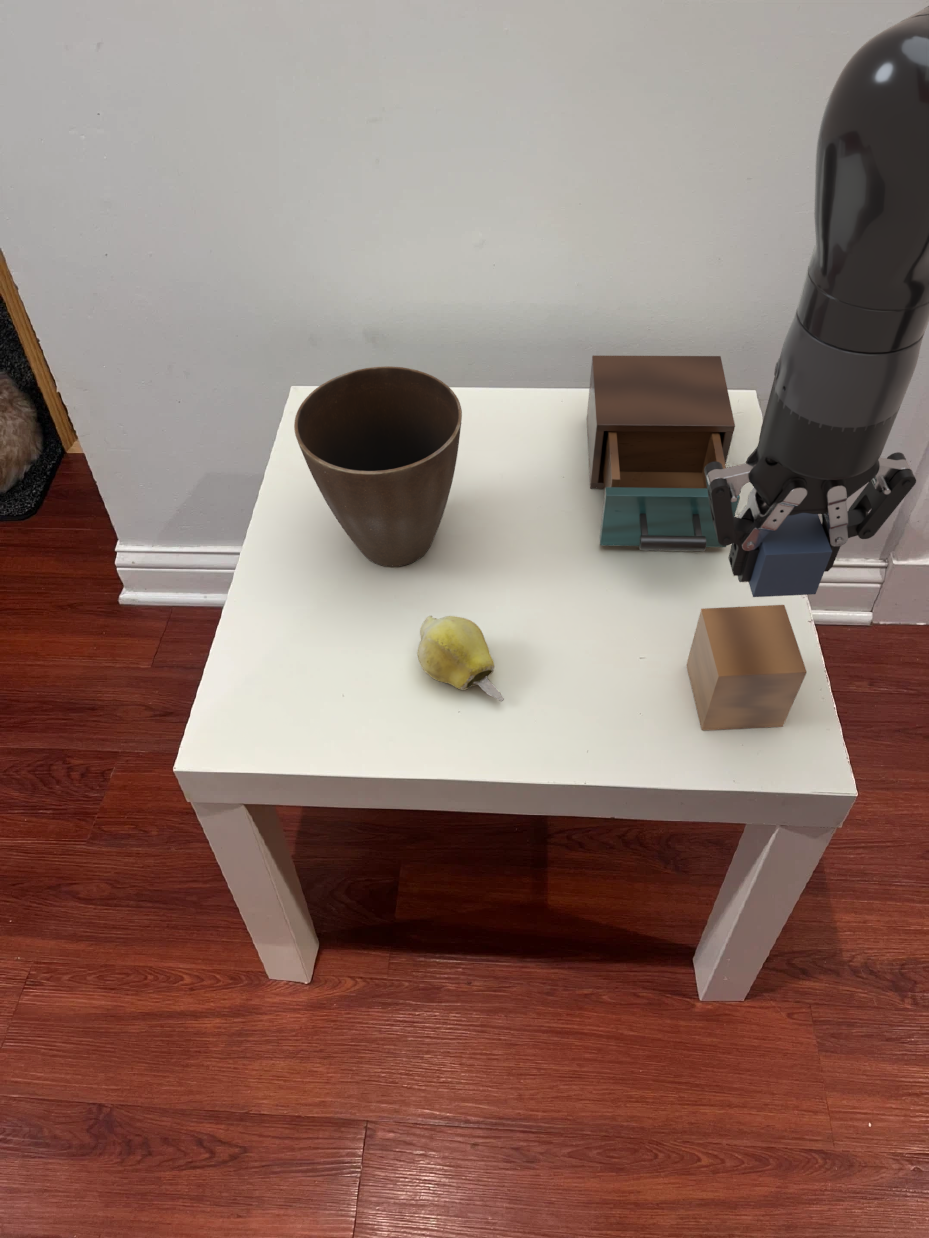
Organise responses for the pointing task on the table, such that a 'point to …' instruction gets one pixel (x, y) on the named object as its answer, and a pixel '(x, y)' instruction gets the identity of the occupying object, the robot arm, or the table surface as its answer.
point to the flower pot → (383, 456)
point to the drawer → (659, 490)
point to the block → (791, 558)
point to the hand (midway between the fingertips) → (777, 571)
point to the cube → (744, 667)
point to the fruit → (456, 653)
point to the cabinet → (655, 400)
